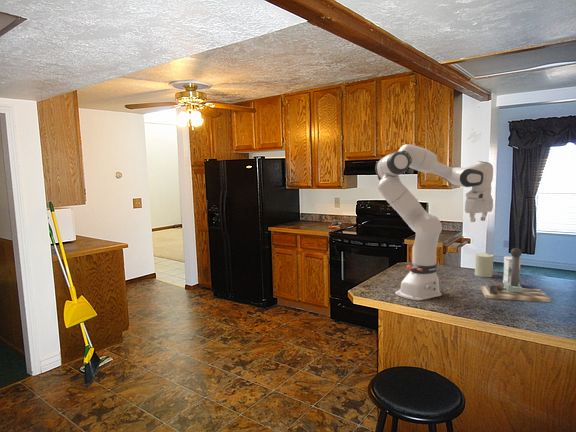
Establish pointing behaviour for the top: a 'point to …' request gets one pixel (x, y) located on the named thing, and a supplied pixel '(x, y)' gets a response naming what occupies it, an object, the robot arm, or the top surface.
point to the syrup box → (508, 269)
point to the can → (484, 265)
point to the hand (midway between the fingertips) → (477, 221)
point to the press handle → (514, 272)
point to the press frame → (512, 293)
